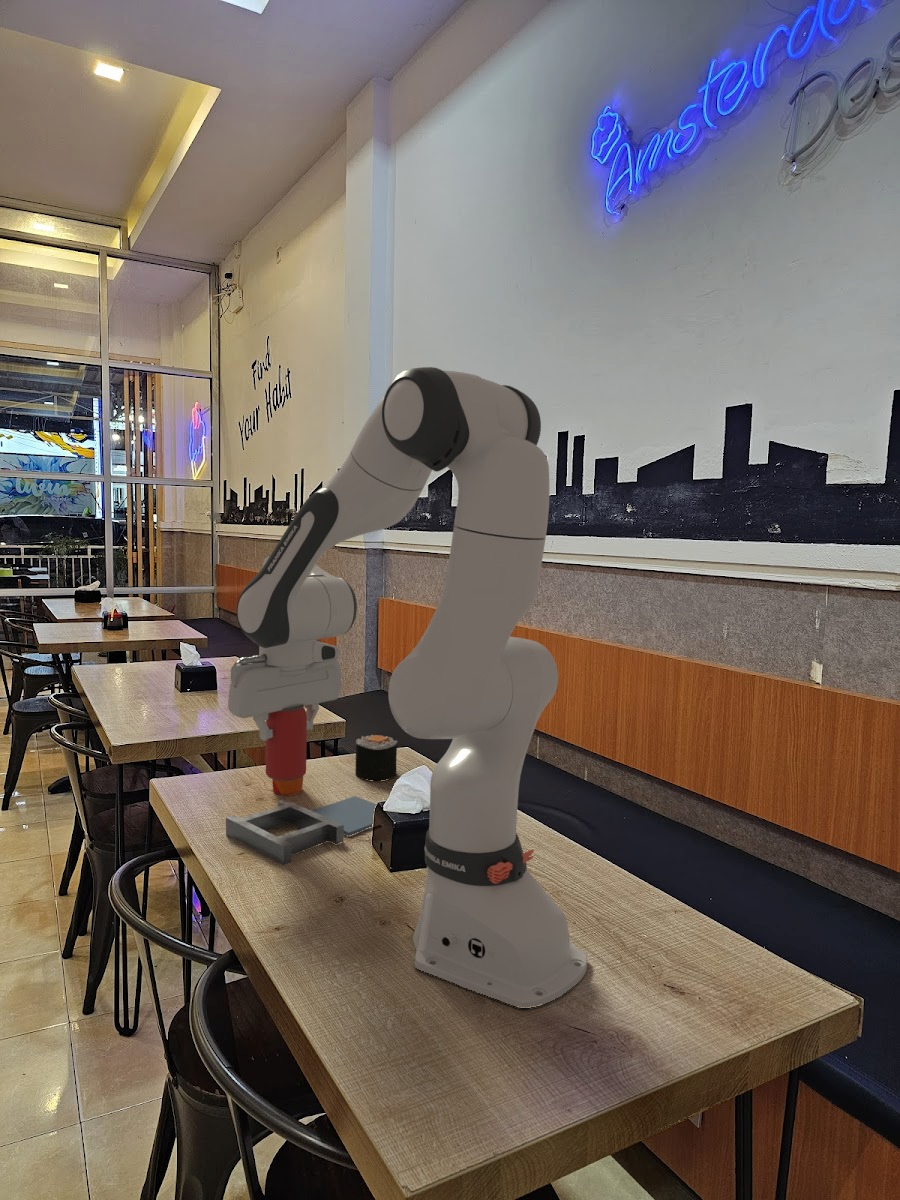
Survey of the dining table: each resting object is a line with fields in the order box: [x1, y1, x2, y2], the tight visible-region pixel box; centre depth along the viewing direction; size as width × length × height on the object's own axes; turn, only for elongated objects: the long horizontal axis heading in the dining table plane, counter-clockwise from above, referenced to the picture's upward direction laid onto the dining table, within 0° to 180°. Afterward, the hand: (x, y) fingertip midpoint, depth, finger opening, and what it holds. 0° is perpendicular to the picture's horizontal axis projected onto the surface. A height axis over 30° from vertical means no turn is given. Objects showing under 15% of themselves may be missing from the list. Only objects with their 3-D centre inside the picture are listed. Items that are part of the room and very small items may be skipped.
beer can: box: [265, 705, 308, 781], centre depth 127 cm, size 7×7×12 cm
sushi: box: [355, 734, 398, 782], centre depth 161 cm, size 8×8×8 cm
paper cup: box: [271, 776, 304, 796], centre depth 151 cm, size 8×8×14 cm
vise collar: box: [225, 799, 345, 866], centre depth 129 cm, size 16×12×3 cm
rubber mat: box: [310, 795, 378, 836], centre depth 139 cm, size 12×12×1 cm
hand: (286, 734), depth 127 cm, fingers closed on beer can, 7 cm apart
